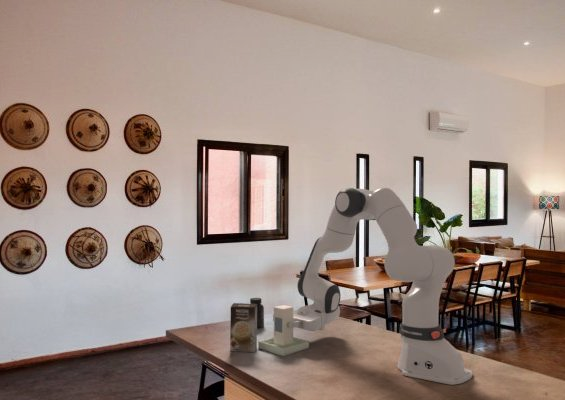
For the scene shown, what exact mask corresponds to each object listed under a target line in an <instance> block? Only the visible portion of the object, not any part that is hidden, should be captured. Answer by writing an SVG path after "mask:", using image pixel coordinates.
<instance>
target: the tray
mask: <svg viewBox="0 0 565 400" xmlns="http://www.w3.org/2000/svg"><path fill="white" fill-rule="evenodd" d="M257 341H258V340H257ZM257 344H258V345H257V346H258V349H259V350H262V351H266V352H269V353H272V354H276V355H279V356H282V357H285V356H286V357H287V356H288V355H291V354H295V353H298V352H301V351H305V350H308V349H310V341H309V340H305V339H301V338H297V337H294V336H293V343H291V344H288V345H284V346H283V345H280V344H276V343H274V336H273V337H270V338H266V339H263V340H259V341H258V342H257Z"/></svg>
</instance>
